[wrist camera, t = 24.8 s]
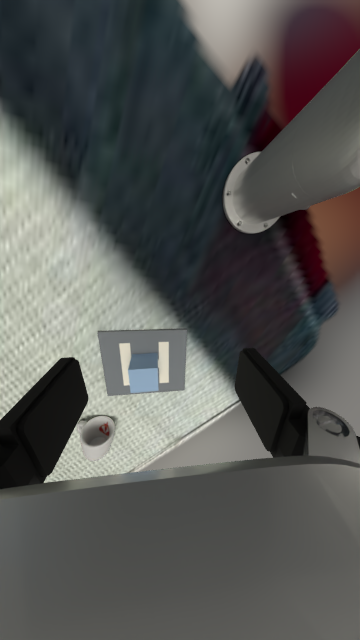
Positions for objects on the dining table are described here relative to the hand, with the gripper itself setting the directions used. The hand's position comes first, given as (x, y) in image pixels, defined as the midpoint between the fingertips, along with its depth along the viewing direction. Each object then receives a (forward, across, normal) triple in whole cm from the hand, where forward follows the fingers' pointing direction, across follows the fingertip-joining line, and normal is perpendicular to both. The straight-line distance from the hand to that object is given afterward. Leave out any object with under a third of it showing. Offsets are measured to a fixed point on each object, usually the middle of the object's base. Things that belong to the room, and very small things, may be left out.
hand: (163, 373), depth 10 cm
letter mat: (+27, +5, +19) cm, 33 cm away
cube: (+27, +5, +19) cm, 33 cm away
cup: (+23, +21, +42) cm, 53 cm away
